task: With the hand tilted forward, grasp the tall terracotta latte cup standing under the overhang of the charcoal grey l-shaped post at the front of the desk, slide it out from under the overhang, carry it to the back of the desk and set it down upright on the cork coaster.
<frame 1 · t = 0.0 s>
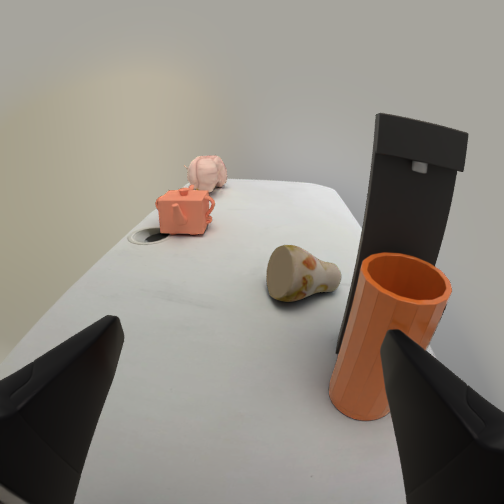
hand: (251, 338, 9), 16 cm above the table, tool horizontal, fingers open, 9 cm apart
teapot: (186, 230, 59), on the table
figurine: (206, 193, 83), on the table
cup: (363, 391, 25), on the table
grey l-shaped post: (397, 258, 24), on the table
mug: (303, 293, 40), on the table
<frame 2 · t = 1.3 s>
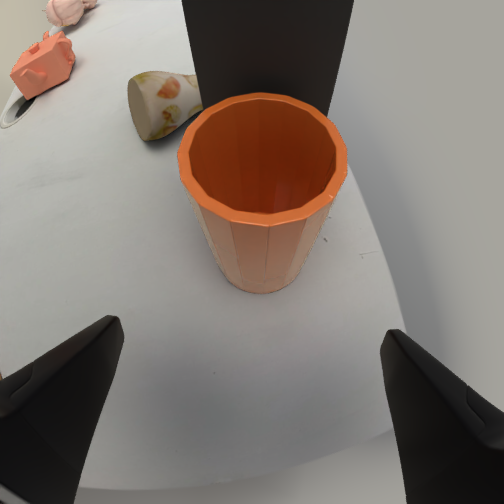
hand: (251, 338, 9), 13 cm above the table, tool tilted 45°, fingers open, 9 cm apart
teapot: (53, 80, 34), on the table
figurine: (77, 21, 43), on the table
cup: (260, 250, 24), on the table
grey l-shaped post: (265, 89, 14), on the table
mug: (180, 116, 29), on the table
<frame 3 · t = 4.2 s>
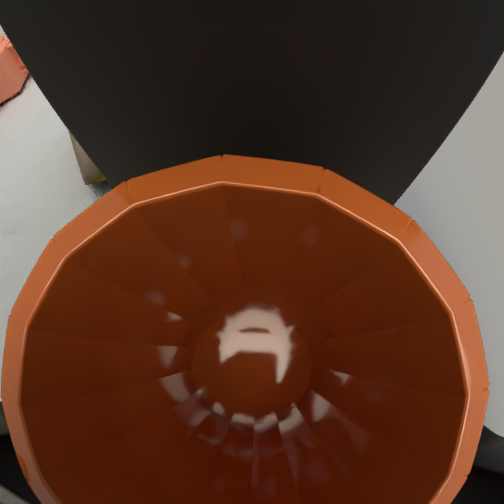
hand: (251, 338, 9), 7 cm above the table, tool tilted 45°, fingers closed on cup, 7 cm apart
teapot: (8, 92, 25), on the table
cup: (251, 367, 15), on the table, touching gripper
grey l-shaped post: (254, 124, 6), on the table
mug: (140, 140, 20), on the table
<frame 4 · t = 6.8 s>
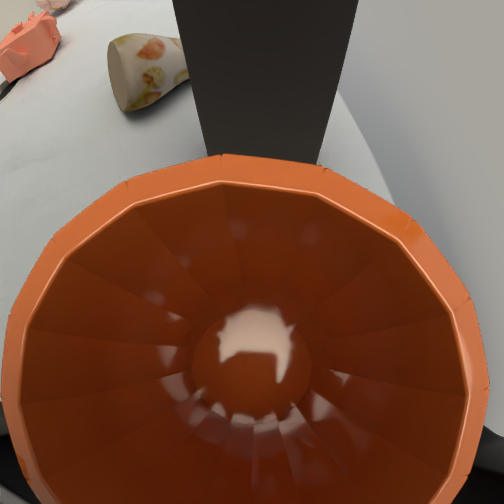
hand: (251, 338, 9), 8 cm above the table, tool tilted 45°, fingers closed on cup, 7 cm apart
teapot: (37, 62, 29), on the table
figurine: (67, 5, 37), on the table
cup: (251, 367, 15), point 2 cm above the table, touching gripper
grey l-shaped post: (264, 19, 9), on the table
mug: (167, 85, 24), on the table
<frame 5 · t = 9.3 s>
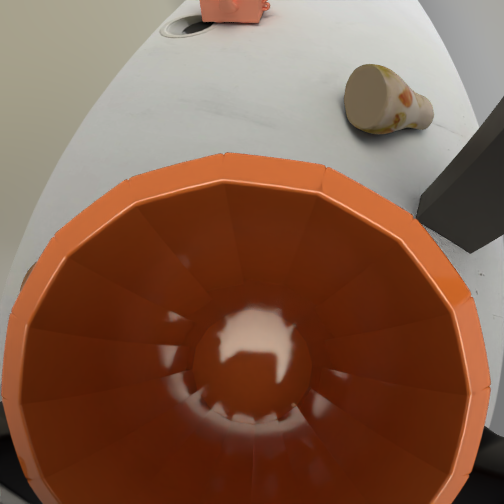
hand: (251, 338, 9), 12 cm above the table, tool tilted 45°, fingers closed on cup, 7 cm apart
teapot: (235, 16, 35), on the table
cup: (252, 367, 15), point 6 cm above the table, touching gripper
mug: (385, 121, 28), on the table
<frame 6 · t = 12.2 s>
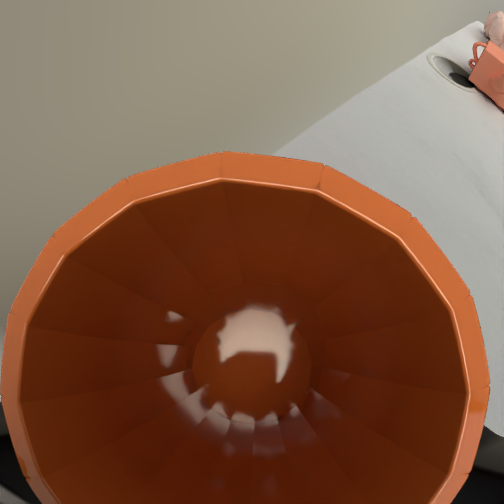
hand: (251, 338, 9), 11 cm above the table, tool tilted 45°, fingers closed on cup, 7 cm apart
teapot: (490, 92, 29), on the table
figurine: (497, 51, 35), on the table
cup: (251, 367, 15), point 4 cm above the table, touching gripper
when the fingers open (7 cm above the table, at t = 14.6 s): cup stays where it is, resting on coaster.
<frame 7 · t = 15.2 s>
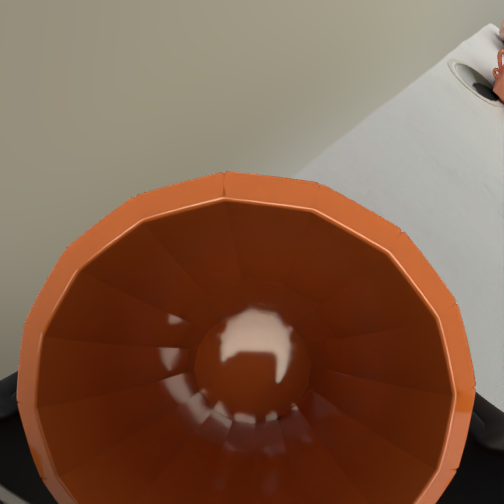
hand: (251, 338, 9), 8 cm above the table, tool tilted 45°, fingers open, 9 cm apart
cup: (252, 368, 15), resting on coaster
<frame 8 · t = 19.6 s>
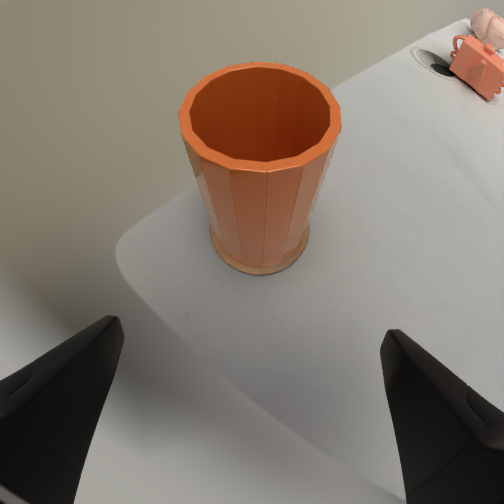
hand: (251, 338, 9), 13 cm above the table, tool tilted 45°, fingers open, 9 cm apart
teapot: (470, 81, 33), on the table
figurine: (482, 45, 39), on the table
cup: (259, 225, 24), resting on coaster
coaster: (259, 227, 24), on the table
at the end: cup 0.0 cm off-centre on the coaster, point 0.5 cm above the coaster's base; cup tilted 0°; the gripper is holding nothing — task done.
